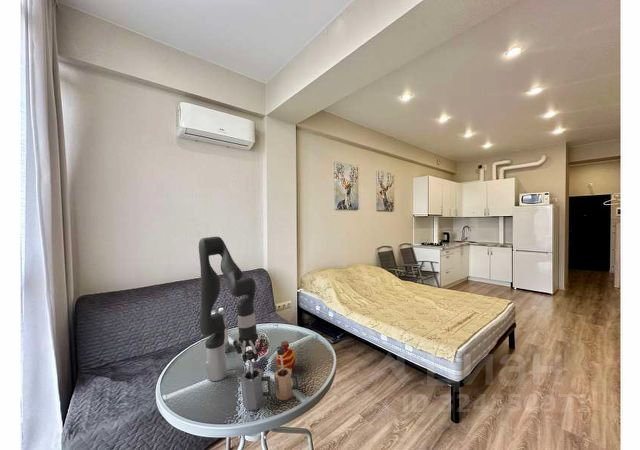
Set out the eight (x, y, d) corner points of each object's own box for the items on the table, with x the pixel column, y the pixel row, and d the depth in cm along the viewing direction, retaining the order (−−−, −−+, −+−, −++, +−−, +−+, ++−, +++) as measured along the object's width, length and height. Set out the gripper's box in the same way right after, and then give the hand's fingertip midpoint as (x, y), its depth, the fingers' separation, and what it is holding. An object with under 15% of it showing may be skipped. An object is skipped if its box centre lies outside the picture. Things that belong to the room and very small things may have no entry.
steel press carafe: (241, 411, 110) (238, 382, 109) (247, 396, 119) (244, 369, 118) (270, 408, 110) (267, 379, 109) (273, 394, 119) (271, 367, 118)
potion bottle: (293, 376, 130) (291, 348, 130) (274, 375, 133) (272, 347, 132) (299, 364, 141) (297, 338, 140) (281, 363, 143) (279, 337, 142)
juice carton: (214, 356, 156) (210, 313, 154) (214, 348, 166) (209, 308, 164) (229, 352, 159) (225, 310, 158) (228, 345, 169) (224, 305, 168)
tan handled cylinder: (275, 400, 115) (273, 379, 114) (278, 388, 122) (276, 368, 122) (298, 398, 115) (296, 377, 114) (299, 387, 122) (297, 366, 122)
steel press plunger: (248, 395, 112) (244, 354, 111) (250, 389, 116) (246, 350, 115) (257, 394, 112) (252, 354, 111) (259, 388, 116) (255, 349, 115)
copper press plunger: (279, 382, 117) (276, 350, 116) (280, 377, 120) (277, 346, 119) (286, 381, 117) (283, 349, 116) (287, 376, 120) (284, 345, 119)
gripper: (227, 328, 109) (232, 367, 110) (261, 325, 109) (264, 364, 110) (233, 321, 116) (237, 357, 117) (264, 318, 116) (268, 355, 117)
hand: (250, 360), depth 114 cm, fingers closed on steel press plunger, 3 cm apart
